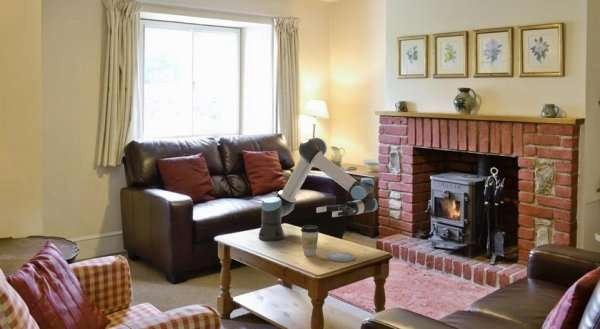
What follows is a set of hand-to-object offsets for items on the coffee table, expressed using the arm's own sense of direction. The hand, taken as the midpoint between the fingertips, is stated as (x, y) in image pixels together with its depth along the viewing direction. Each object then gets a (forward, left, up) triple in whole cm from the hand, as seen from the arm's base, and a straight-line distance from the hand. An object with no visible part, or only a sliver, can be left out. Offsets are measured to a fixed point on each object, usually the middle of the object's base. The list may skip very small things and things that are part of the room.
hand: (324, 212), depth 313 cm
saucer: (+11, +10, -22) cm, 26 cm away
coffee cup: (+7, -7, -22) cm, 24 cm away
